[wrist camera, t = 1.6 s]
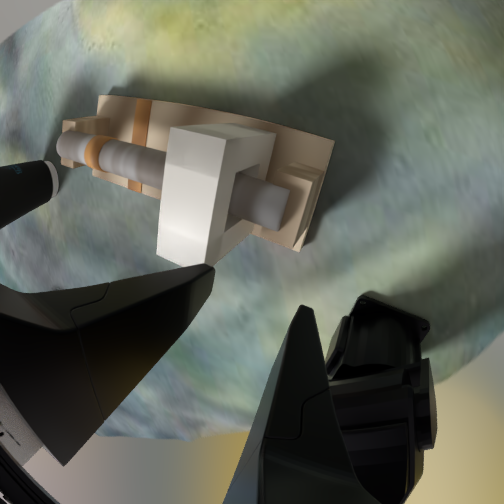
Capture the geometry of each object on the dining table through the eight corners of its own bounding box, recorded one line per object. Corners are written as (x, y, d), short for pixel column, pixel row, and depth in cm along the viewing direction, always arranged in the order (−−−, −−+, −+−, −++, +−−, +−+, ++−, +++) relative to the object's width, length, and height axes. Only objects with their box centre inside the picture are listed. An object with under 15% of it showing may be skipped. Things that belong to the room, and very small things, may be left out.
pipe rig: (335, 141, 19) (318, 147, 13) (302, 247, 22) (275, 288, 17) (106, 94, 24) (52, 98, 18) (99, 173, 27) (49, 189, 22)
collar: (276, 133, 18) (226, 139, 12) (253, 231, 22) (202, 275, 16) (234, 122, 19) (170, 126, 13) (215, 217, 22) (156, 254, 17)
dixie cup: (47, 216, 34) (-18, 247, 25) (30, 164, 32) (-36, 187, 23) (72, 196, 30) (-7, 229, 21) (53, 137, 28) (-27, 158, 19)
